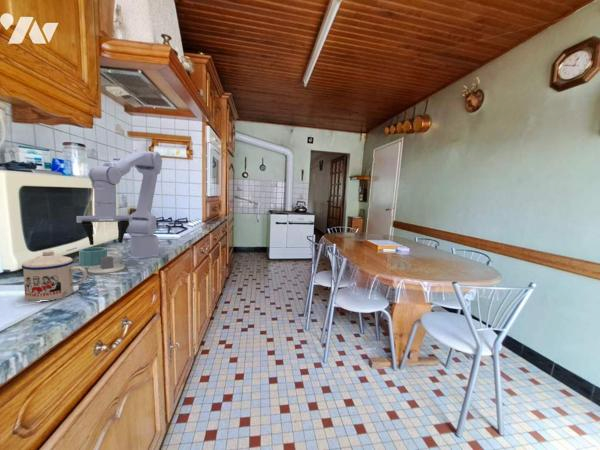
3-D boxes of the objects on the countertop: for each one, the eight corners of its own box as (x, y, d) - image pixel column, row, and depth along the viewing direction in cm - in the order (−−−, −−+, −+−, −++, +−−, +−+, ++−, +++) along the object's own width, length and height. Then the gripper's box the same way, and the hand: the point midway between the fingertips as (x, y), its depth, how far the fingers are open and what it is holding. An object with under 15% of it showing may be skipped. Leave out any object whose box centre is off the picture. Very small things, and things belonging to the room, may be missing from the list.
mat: (121, 264, 92) (121, 263, 92) (129, 271, 85) (129, 270, 85) (84, 269, 84) (84, 267, 84) (89, 277, 77) (89, 276, 77)
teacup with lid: (14, 305, 57) (10, 256, 56) (36, 290, 66) (34, 247, 64) (80, 300, 62) (78, 254, 61) (93, 287, 70) (92, 246, 69)
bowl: (104, 260, 96) (104, 246, 95) (108, 264, 91) (108, 250, 90) (78, 263, 90) (77, 248, 90) (81, 268, 85) (80, 252, 85)
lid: (121, 263, 92) (120, 253, 91) (128, 270, 85) (128, 258, 85) (85, 268, 84) (85, 256, 84) (90, 275, 78) (89, 263, 77)
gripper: (77, 203, 74) (79, 247, 76) (134, 204, 85) (134, 243, 86) (75, 201, 79) (76, 243, 80) (129, 202, 90) (129, 240, 91)
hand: (106, 243), depth 84 cm, fingers open, 7 cm apart
